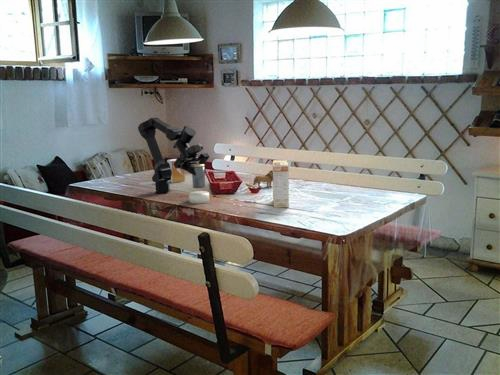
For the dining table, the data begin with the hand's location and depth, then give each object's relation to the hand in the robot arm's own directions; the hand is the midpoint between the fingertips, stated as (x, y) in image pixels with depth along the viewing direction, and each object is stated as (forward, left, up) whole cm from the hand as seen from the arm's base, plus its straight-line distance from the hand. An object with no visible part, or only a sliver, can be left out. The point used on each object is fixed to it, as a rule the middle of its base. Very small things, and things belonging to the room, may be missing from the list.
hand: (200, 173), depth 237 cm
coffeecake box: (+39, -4, -14) cm, 41 cm away
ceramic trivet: (-1, +1, -14) cm, 14 cm away
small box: (-25, +50, -14) cm, 57 cm away
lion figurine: (+28, +34, -14) cm, 46 cm away
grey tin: (-1, +1, -7) cm, 7 cm away
